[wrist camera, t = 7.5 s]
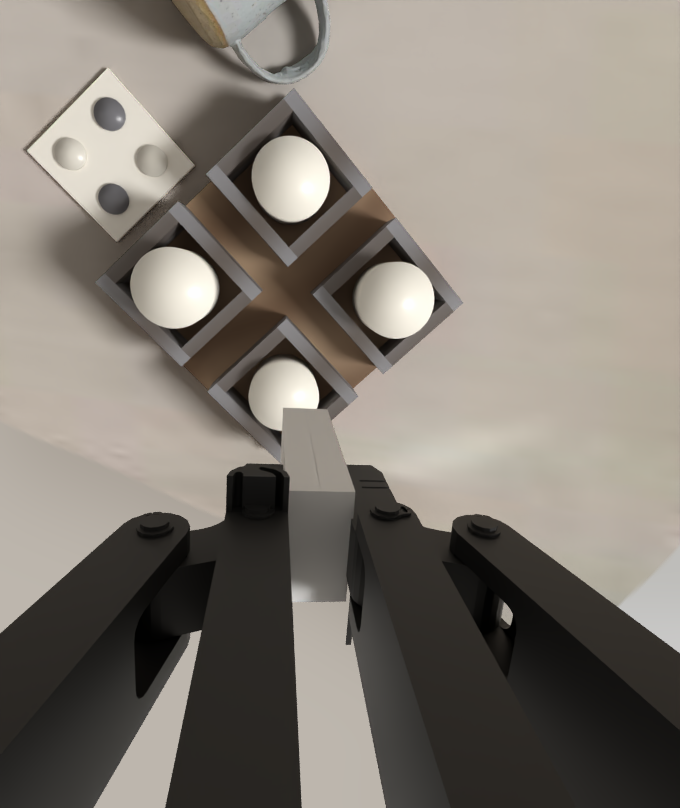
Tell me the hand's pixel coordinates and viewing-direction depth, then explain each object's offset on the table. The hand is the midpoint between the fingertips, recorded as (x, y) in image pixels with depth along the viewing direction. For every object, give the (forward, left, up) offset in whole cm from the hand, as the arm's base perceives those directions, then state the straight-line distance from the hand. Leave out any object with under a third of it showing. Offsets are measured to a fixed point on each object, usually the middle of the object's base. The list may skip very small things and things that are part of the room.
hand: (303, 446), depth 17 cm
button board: (-4, +3, -20) cm, 20 cm away
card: (-17, 0, -20) cm, 26 cm away
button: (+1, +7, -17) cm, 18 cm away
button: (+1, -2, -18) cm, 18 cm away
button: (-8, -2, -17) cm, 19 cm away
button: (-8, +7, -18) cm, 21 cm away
